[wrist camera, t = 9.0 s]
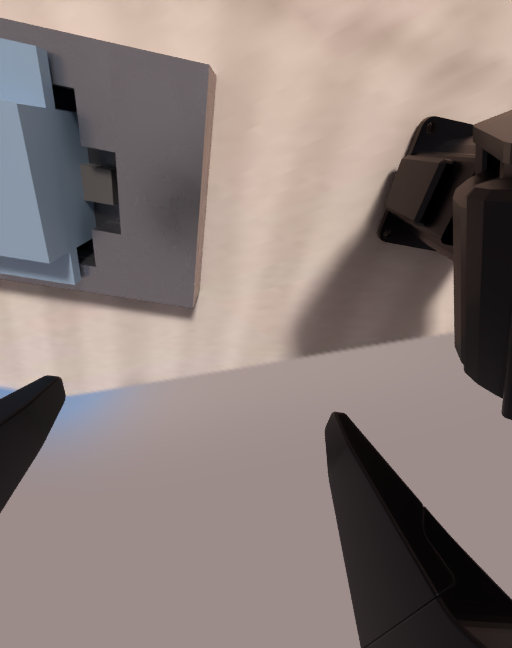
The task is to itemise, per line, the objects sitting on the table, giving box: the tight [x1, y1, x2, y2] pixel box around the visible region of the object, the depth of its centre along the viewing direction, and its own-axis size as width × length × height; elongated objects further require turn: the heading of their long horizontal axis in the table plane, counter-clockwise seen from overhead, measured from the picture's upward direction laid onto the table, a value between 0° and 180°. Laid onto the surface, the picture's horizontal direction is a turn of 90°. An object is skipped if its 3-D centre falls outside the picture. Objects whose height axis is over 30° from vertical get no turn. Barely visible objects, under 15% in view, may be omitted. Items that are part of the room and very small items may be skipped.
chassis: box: [0, 18, 216, 308], centre depth 16 cm, size 16×12×2 cm
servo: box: [0, 38, 119, 285], centre depth 15 cm, size 6×10×5 cm, turn 170°
